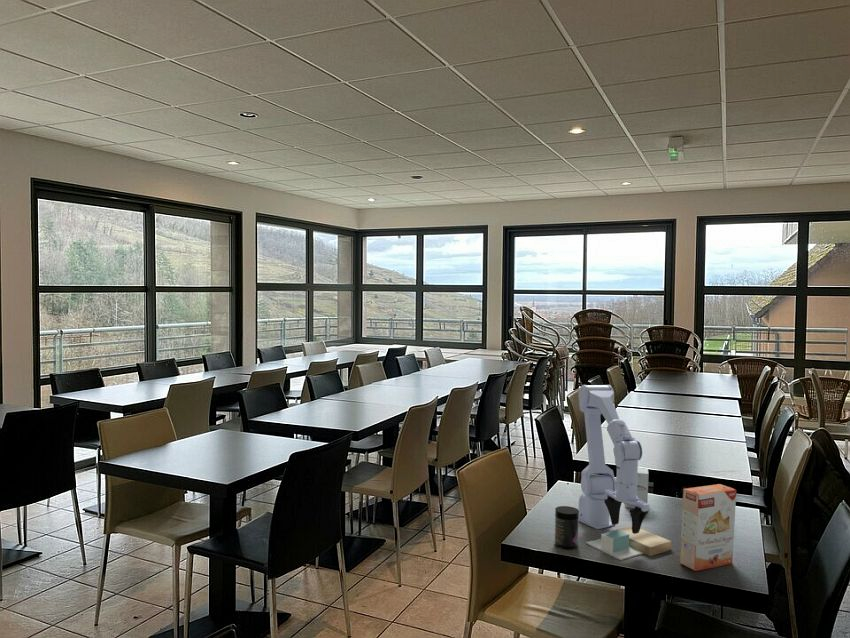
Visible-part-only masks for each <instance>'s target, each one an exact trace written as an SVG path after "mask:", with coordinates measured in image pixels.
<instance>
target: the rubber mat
mask: <svg viewBox="0 0 850 638" xmlns="http://www.w3.org/2000/svg"><path fill="white" fill-rule="evenodd" d="M585 544H586V545H588V546H589V547H592V548H594V549H596V550H598V551H601V552H602V553H604V554H606V555H609V556H611V557H612V558H615V559H617V560H620V561H624V560H627V559H631V558H633V557H637V556H640V555H643V554H644V553H643V552H641V551H639V550H636V549H634V548H632V547H630V546H629V548H628V549H624V550H621V551H617V552H614V553H611V552H608V551H606V550H604V549H602V548H601V538H598V539H594V540H590V541H586V543H585Z"/></svg>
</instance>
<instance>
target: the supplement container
mask: <svg viewBox="0 0 850 638" xmlns="http://www.w3.org/2000/svg"><path fill="white" fill-rule="evenodd" d="M579 524H580V521H579V508H576V507H573V506H568V505H560V506H556V507H555V510H554V544H555V546H556V547H558V548H559V549H563V550H573V549H576V548H577V547H578V545H579Z"/></svg>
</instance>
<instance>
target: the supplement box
mask: <svg viewBox="0 0 850 638" xmlns="http://www.w3.org/2000/svg"><path fill="white" fill-rule="evenodd" d="M637 496H638V498H639V499H640V500H642V501H644V502H645V503H648V500H649V499H648V498H649V497H648V496H649V469H648V468H646V467H645V468H644V467H638V471H637ZM648 504H649V503H648ZM624 506H625V507H624V508H629V509H635V507H633V506H630V505H627V504H625V503H624Z"/></svg>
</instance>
